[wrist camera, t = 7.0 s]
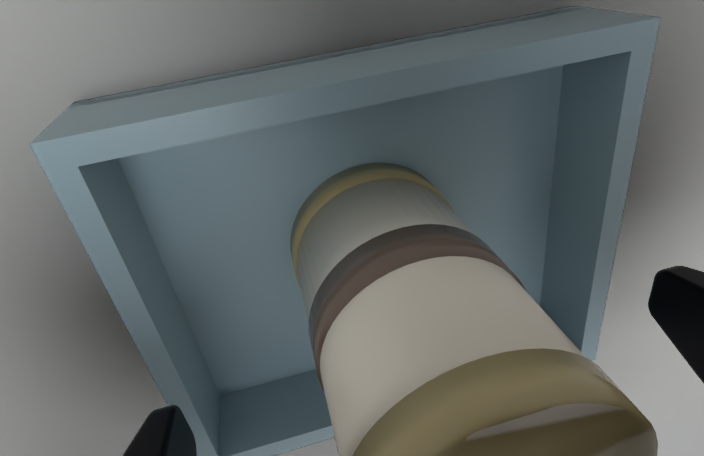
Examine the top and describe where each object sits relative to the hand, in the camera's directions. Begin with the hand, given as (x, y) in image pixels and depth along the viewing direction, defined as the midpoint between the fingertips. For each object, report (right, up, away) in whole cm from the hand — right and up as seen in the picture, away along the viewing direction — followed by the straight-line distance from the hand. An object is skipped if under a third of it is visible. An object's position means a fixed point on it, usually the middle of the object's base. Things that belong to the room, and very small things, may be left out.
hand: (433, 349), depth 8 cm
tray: (-1, +2, +4) cm, 5 cm away
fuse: (-1, +2, +4) cm, 4 cm away
